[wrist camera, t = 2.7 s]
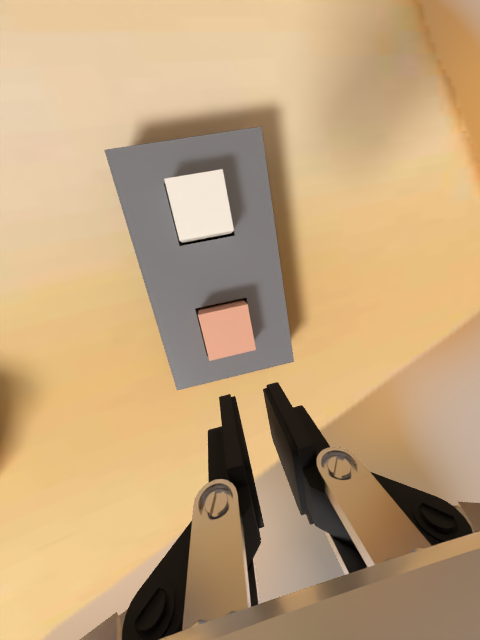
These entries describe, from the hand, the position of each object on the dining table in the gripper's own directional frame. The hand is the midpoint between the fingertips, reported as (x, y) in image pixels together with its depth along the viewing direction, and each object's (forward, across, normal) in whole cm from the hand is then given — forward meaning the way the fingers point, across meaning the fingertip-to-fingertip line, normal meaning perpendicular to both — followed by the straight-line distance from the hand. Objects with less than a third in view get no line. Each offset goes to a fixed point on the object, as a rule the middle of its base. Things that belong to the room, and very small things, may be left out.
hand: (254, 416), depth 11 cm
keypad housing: (+19, 0, -6) cm, 20 cm away
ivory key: (+16, 0, -12) cm, 20 cm away
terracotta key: (+16, 0, 0) cm, 16 cm away
